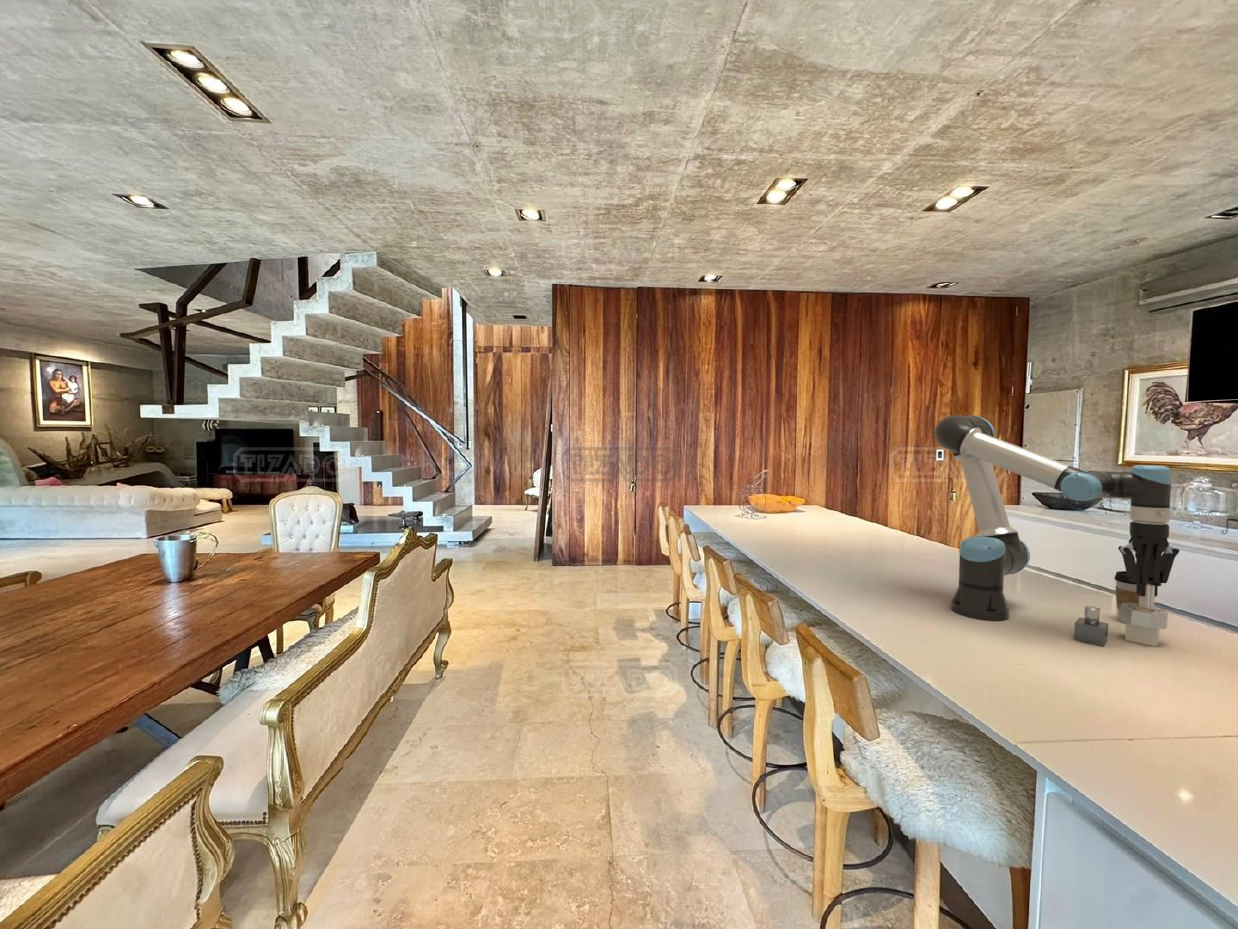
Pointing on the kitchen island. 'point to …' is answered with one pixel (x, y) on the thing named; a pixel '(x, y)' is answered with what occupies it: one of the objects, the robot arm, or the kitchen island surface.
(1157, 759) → the kitchen island surface
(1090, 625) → the stand
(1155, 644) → the hub
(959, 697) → the kitchen island surface
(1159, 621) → the ring
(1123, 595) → the coffee cup
